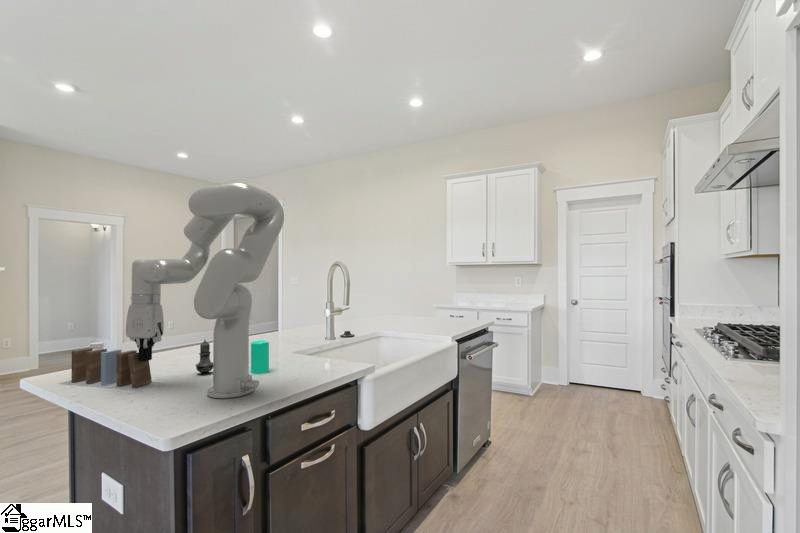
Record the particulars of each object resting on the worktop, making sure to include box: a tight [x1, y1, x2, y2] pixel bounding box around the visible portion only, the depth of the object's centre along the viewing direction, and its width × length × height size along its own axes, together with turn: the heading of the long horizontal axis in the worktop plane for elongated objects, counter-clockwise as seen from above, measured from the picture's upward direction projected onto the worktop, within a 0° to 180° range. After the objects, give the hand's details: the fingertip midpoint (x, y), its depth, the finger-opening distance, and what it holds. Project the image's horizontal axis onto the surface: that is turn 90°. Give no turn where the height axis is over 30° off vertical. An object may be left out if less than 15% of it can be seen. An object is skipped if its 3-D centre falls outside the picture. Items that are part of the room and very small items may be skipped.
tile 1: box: [128, 351, 153, 388], centre depth 122 cm, size 2×5×10 cm, turn 166°
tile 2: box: [116, 349, 138, 387], centre depth 123 cm, size 2×5×10 cm, turn 166°
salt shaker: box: [195, 339, 213, 377], centre depth 136 cm, size 6×6×12 cm
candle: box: [250, 339, 270, 375], centre depth 140 cm, size 6×6×12 cm
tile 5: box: [70, 347, 93, 383], centre depth 128 cm, size 2×5×10 cm, turn 166°
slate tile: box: [101, 349, 122, 386], centre depth 125 cm, size 2×5×10 cm, turn 165°
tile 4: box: [86, 348, 108, 384], centre depth 127 cm, size 2×5×10 cm, turn 165°
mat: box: [57, 379, 164, 392], centre depth 125 cm, size 32×9×1 cm, turn 75°
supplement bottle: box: [89, 341, 107, 350], centre depth 141 cm, size 6×6×10 cm
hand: (145, 360), depth 122 cm, fingers closed
